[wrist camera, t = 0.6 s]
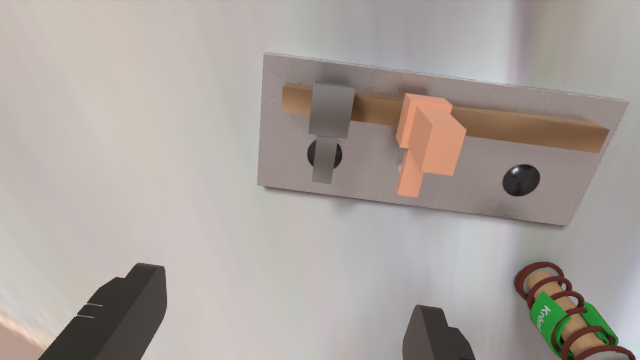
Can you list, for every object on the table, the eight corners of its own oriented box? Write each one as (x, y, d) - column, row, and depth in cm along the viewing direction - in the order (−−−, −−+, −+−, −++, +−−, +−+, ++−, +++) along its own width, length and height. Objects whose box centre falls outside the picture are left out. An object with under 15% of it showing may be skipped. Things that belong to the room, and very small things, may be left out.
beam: (287, 72, 30) (278, 81, 26) (598, 113, 30) (637, 129, 26) (280, 156, 33) (272, 177, 29) (560, 194, 33) (591, 219, 29)
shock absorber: (513, 247, 37) (612, 383, 24) (575, 253, 37) (710, 393, 24) (496, 294, 40) (575, 440, 26) (553, 300, 40) (662, 449, 26)
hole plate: (266, 52, 30) (263, 54, 29) (618, 99, 30) (630, 102, 29) (259, 179, 35) (257, 185, 34) (561, 219, 36) (568, 226, 34)
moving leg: (401, 88, 29) (425, 119, 21) (438, 93, 29) (476, 126, 21) (383, 172, 33) (397, 228, 24) (416, 176, 33) (442, 234, 24)
